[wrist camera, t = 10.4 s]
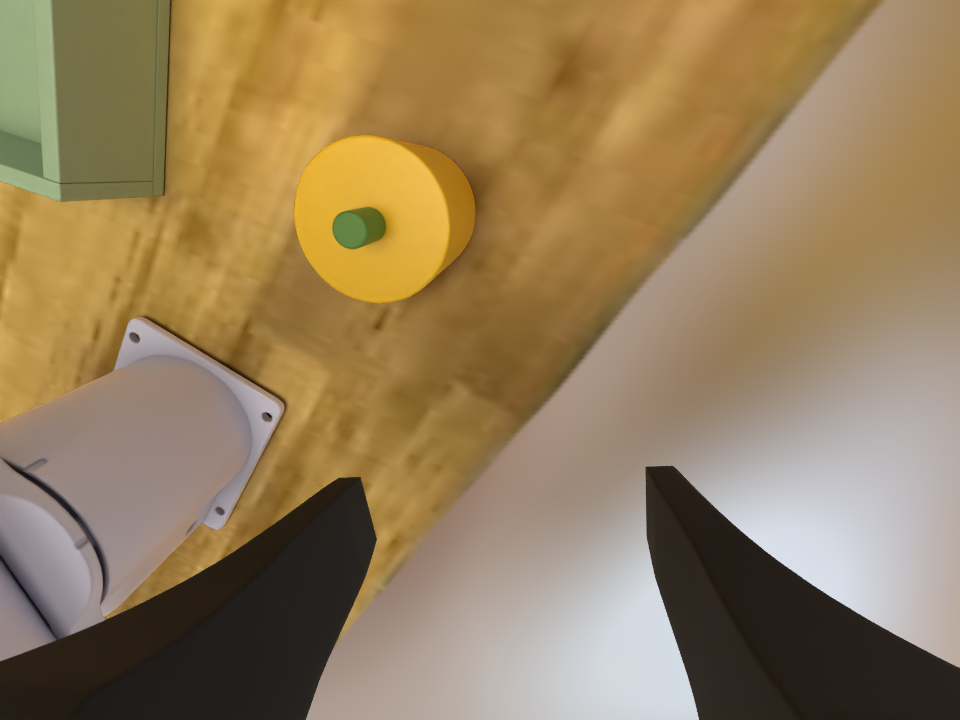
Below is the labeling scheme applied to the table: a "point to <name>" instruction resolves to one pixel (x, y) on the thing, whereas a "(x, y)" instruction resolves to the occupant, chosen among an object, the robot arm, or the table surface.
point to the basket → (84, 97)
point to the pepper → (382, 216)
